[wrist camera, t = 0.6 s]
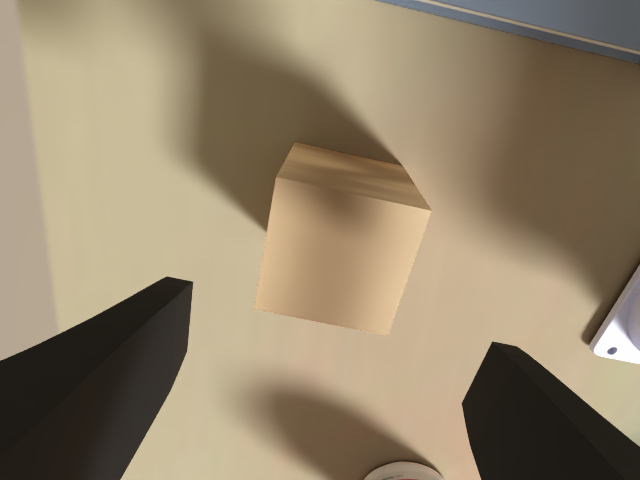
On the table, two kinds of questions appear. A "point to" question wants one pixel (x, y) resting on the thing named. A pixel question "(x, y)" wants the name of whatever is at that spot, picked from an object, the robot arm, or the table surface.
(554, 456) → the robot arm
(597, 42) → the book
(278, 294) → the oak block
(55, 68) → the table surface
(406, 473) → the pill bottle
